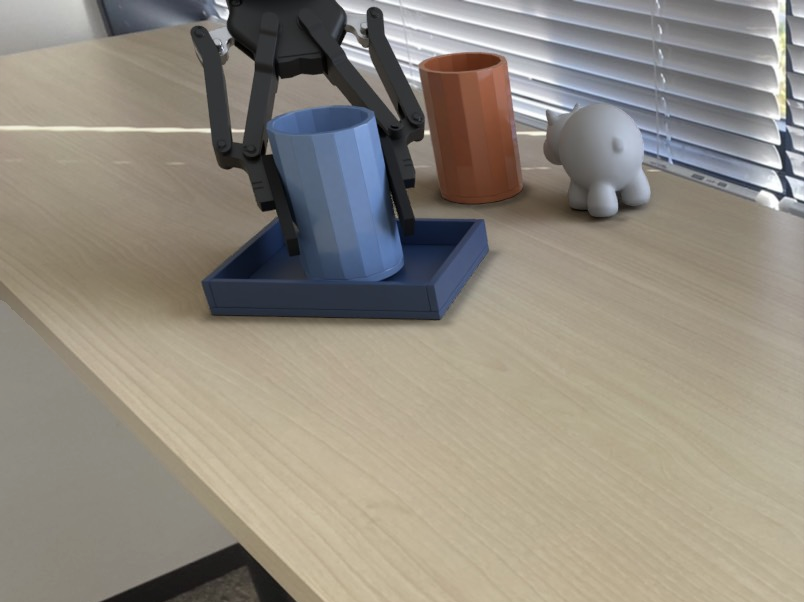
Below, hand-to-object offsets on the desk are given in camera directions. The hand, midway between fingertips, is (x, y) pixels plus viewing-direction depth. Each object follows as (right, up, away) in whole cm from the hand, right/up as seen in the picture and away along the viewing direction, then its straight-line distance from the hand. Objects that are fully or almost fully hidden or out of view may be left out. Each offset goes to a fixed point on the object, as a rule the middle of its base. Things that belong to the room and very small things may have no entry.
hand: (352, 236), depth 84 cm
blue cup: (-1, -1, +5) cm, 5 cm away
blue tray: (-1, -2, +5) cm, 6 cm away
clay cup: (+5, +10, +22) cm, 25 cm away
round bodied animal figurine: (+15, +8, +19) cm, 26 cm away
